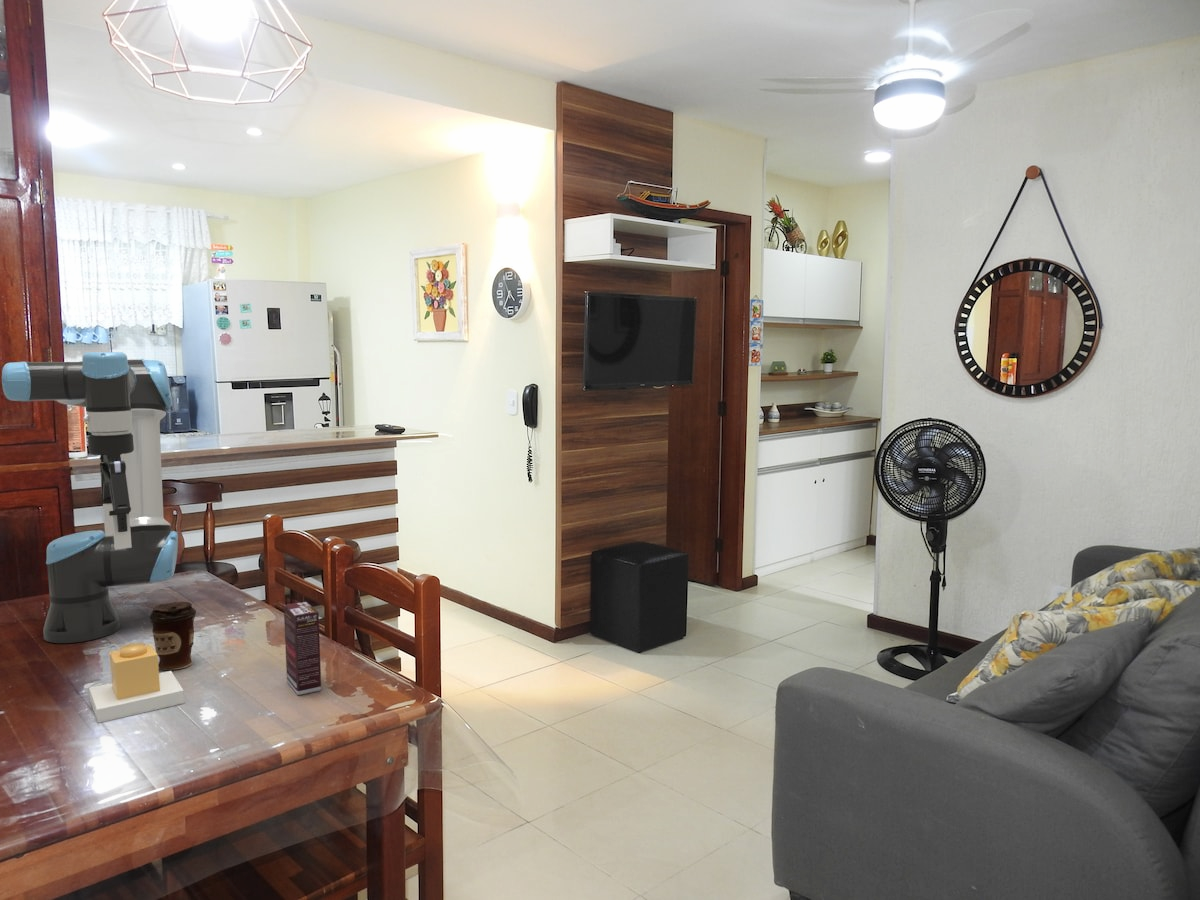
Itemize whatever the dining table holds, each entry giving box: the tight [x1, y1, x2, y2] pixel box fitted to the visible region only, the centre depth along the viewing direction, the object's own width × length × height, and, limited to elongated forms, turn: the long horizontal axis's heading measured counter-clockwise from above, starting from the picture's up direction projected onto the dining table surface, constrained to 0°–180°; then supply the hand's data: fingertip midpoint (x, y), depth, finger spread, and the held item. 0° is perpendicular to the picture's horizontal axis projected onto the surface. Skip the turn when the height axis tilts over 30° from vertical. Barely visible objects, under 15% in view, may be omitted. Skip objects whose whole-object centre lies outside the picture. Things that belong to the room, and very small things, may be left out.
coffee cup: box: [149, 601, 197, 671], centre depth 175 cm, size 9×8×13 cm
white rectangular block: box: [88, 670, 185, 724], centre depth 157 cm, size 12×14×8 cm
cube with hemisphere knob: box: [109, 642, 160, 700], centre depth 157 cm, size 7×7×8 cm
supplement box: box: [283, 601, 322, 696], centre depth 164 cm, size 9×5×16 cm, turn 34°
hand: (118, 541), depth 163 cm, fingers open, 13 cm apart
